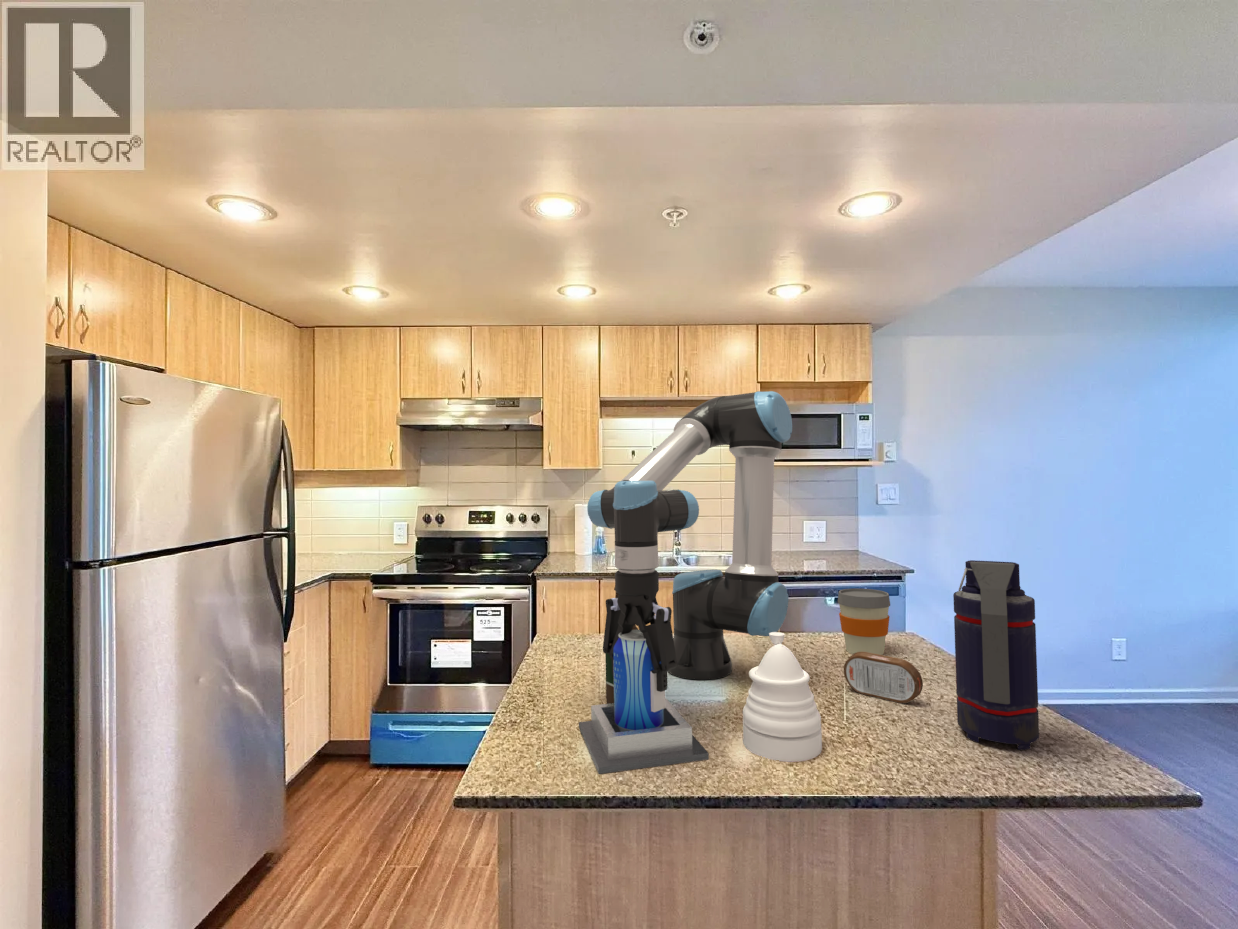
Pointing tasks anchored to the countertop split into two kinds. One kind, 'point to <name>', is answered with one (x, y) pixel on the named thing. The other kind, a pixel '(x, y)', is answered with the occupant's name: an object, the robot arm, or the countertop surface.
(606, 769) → the silver square tray
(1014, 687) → the grenade
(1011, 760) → the countertop surface
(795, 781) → the countertop surface
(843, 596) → the reusable coffee cup
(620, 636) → the beer can
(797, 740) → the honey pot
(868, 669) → the tin
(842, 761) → the countertop surface
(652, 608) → the robot arm
